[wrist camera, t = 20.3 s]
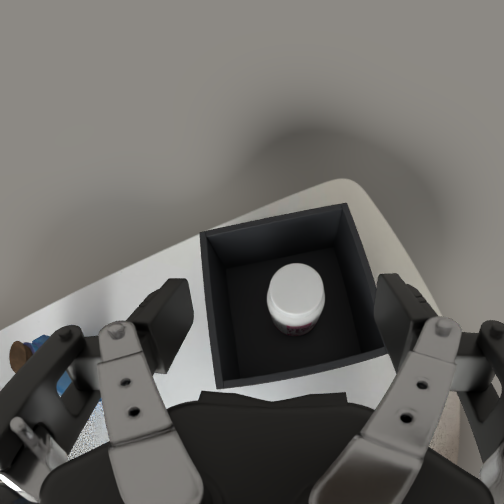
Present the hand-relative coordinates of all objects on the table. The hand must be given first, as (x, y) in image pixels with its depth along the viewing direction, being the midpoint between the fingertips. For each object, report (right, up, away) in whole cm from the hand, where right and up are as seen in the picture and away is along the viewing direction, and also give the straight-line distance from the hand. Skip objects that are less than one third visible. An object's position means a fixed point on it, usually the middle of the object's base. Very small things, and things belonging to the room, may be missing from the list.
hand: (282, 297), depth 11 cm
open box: (+3, -4, +17) cm, 18 cm away
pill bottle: (+3, -4, +16) cm, 17 cm away
